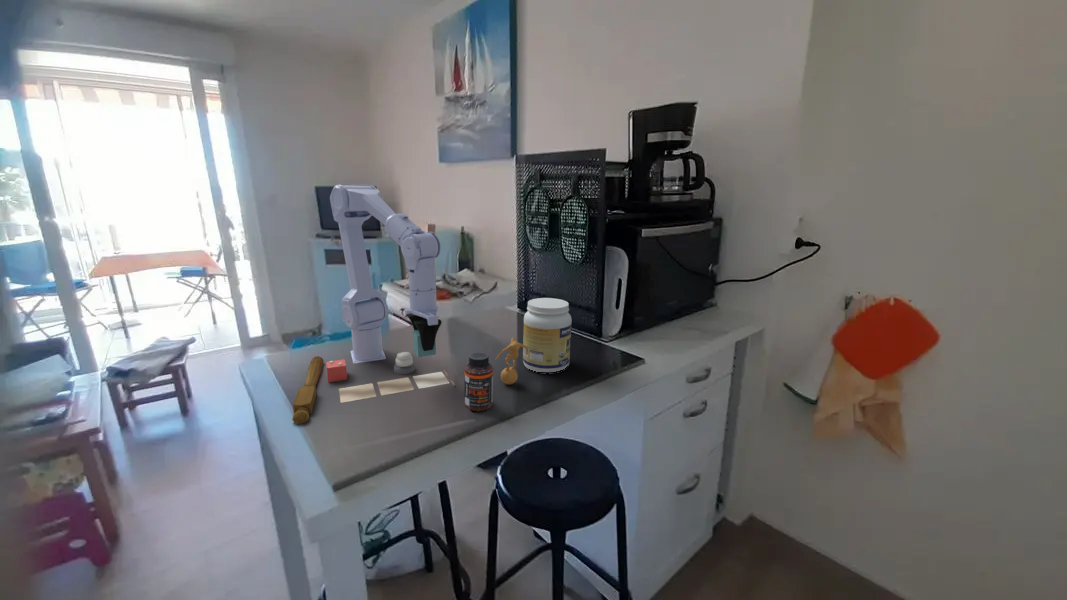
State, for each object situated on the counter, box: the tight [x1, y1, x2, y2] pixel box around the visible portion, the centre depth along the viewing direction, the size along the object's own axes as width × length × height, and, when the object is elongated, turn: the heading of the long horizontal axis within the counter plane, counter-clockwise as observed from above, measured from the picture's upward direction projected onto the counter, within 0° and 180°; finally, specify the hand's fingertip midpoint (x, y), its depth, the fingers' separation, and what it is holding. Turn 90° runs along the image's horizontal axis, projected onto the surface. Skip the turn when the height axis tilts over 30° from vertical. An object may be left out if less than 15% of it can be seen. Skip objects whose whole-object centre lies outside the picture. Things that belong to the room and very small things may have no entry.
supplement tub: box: [522, 297, 573, 373], centre depth 109 cm, size 12×12×17 cm
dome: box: [395, 351, 414, 367], centre depth 104 cm, size 4×4×2 cm
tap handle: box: [292, 356, 325, 425], centre depth 94 cm, size 3×3×30 cm
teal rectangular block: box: [412, 329, 437, 358], centre depth 97 cm, size 4×4×5 cm
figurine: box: [495, 337, 528, 385], centre depth 98 cm, size 8×6×12 cm
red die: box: [326, 359, 348, 383], centre depth 100 cm, size 4×4×4 cm
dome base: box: [393, 362, 416, 375], centre depth 105 cm, size 5×5×2 cm
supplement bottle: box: [463, 351, 494, 412], centre depth 89 cm, size 6×6×11 cm
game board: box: [338, 368, 457, 404], centre depth 97 cm, size 10×25×1 cm, turn 116°
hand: (425, 346), depth 97 cm, fingers closed on teal rectangular block, 4 cm apart
